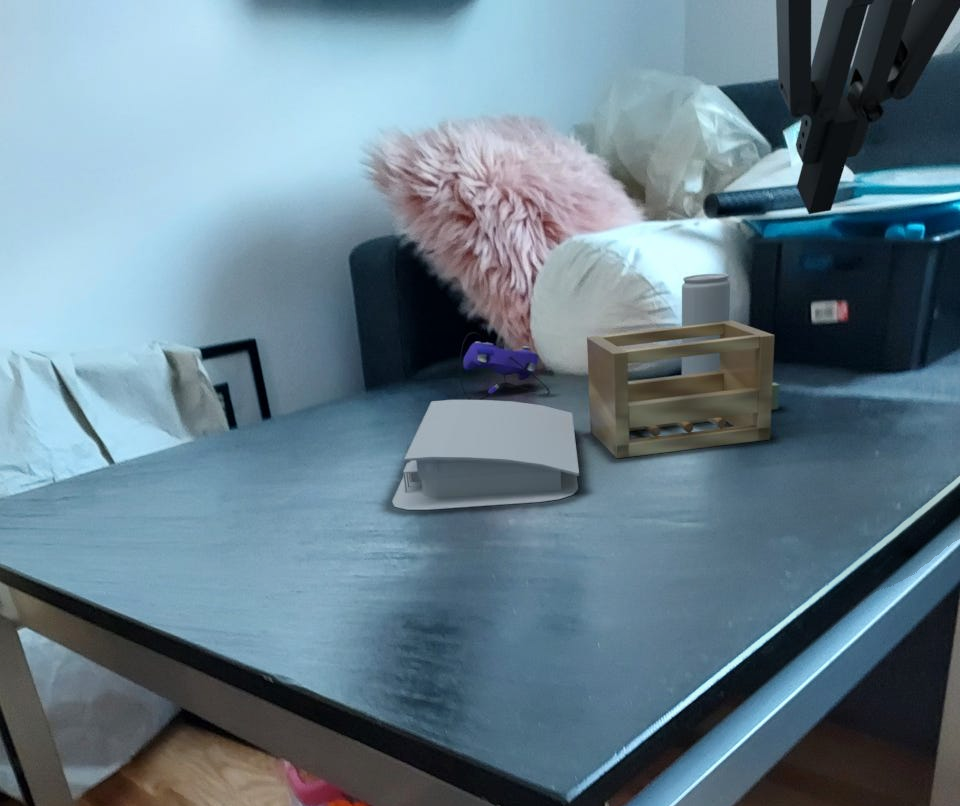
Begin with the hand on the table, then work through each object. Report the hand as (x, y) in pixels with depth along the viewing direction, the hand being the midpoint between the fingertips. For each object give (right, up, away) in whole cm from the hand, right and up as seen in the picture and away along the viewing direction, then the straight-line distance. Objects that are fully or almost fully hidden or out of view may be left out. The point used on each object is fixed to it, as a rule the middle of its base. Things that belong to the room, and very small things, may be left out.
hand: (813, 198), depth 64 cm
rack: (-4, -11, +25) cm, 27 cm away
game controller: (-19, -1, +49) cm, 52 cm away
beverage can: (+2, -3, +39) cm, 39 cm away
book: (-21, -14, +22) cm, 34 cm away
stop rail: (+2, -7, +31) cm, 31 cm away
